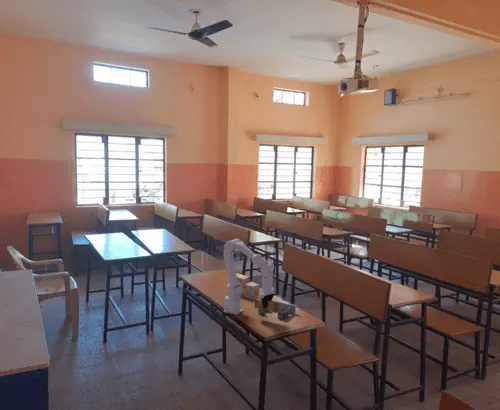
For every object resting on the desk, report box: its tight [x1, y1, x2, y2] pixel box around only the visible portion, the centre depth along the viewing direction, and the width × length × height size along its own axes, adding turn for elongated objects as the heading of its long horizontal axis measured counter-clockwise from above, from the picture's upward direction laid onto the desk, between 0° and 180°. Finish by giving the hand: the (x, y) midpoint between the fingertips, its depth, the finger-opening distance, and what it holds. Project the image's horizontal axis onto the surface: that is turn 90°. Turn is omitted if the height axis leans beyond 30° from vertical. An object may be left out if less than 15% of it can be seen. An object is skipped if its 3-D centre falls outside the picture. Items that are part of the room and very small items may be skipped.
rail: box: [254, 297, 281, 314], centre depth 220 cm, size 14×4×5 cm, turn 60°
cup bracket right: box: [277, 308, 290, 320], centre depth 225 cm, size 4×7×4 cm, turn 150°
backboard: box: [272, 299, 297, 315], centre depth 234 cm, size 21×5×5 cm, turn 60°
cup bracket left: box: [257, 309, 267, 316], centre depth 232 cm, size 4×7×4 cm, turn 150°
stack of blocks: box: [236, 272, 260, 301], centre depth 260 cm, size 21×6×12 cm, turn 45°
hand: (266, 306), depth 220 cm, fingers closed on rail, 4 cm apart
